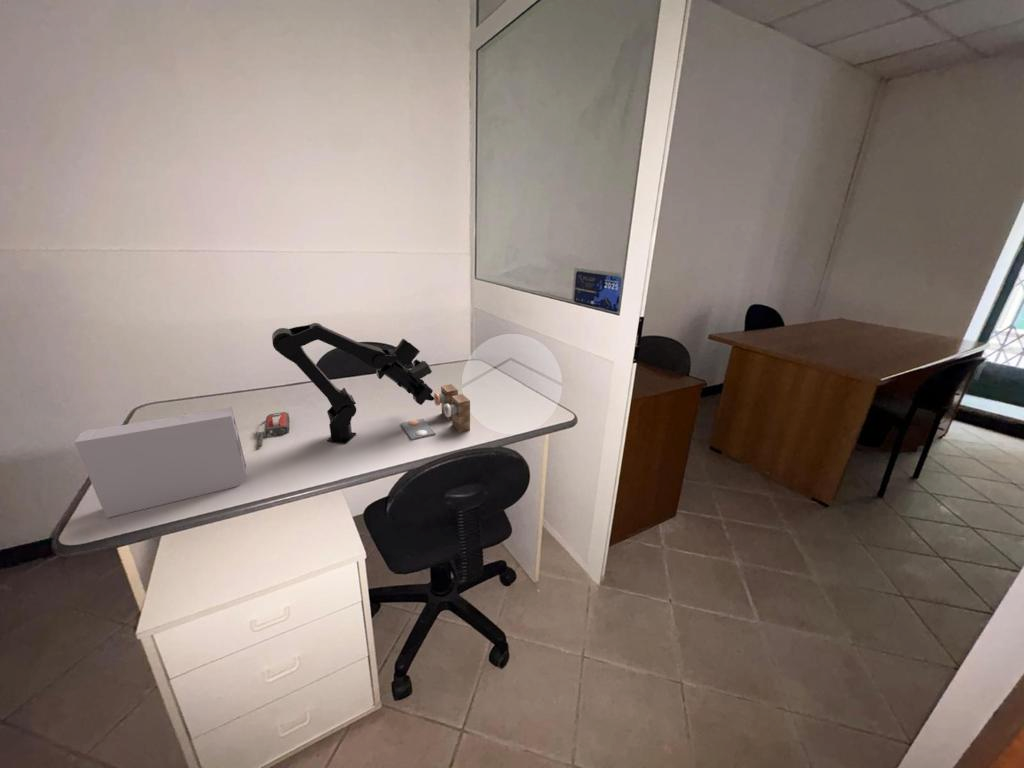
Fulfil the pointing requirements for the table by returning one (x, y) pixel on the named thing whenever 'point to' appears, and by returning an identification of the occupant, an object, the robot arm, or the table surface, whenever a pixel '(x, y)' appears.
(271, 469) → the table surface
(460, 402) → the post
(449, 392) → the post
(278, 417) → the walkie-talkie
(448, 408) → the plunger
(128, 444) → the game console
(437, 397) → the plunger
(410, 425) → the card
